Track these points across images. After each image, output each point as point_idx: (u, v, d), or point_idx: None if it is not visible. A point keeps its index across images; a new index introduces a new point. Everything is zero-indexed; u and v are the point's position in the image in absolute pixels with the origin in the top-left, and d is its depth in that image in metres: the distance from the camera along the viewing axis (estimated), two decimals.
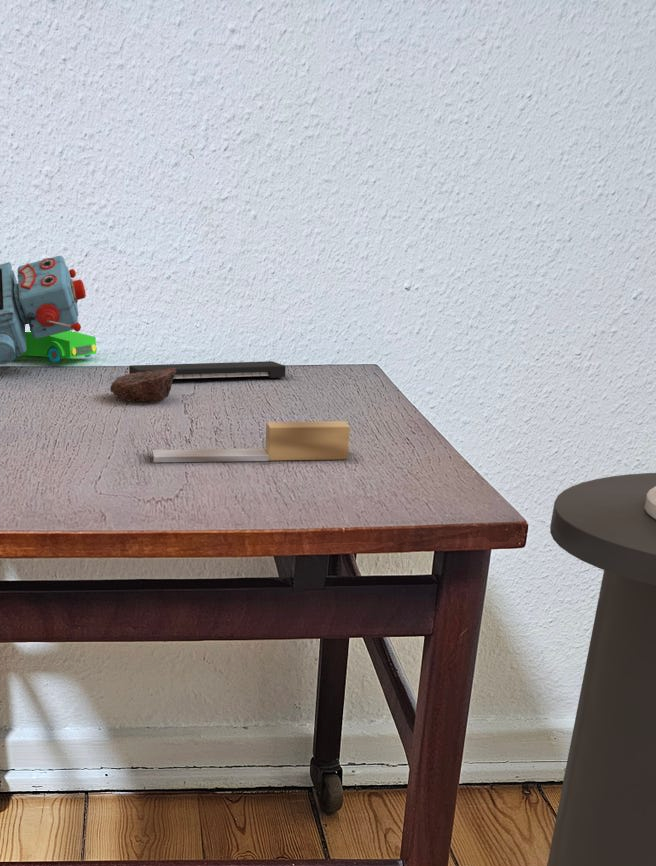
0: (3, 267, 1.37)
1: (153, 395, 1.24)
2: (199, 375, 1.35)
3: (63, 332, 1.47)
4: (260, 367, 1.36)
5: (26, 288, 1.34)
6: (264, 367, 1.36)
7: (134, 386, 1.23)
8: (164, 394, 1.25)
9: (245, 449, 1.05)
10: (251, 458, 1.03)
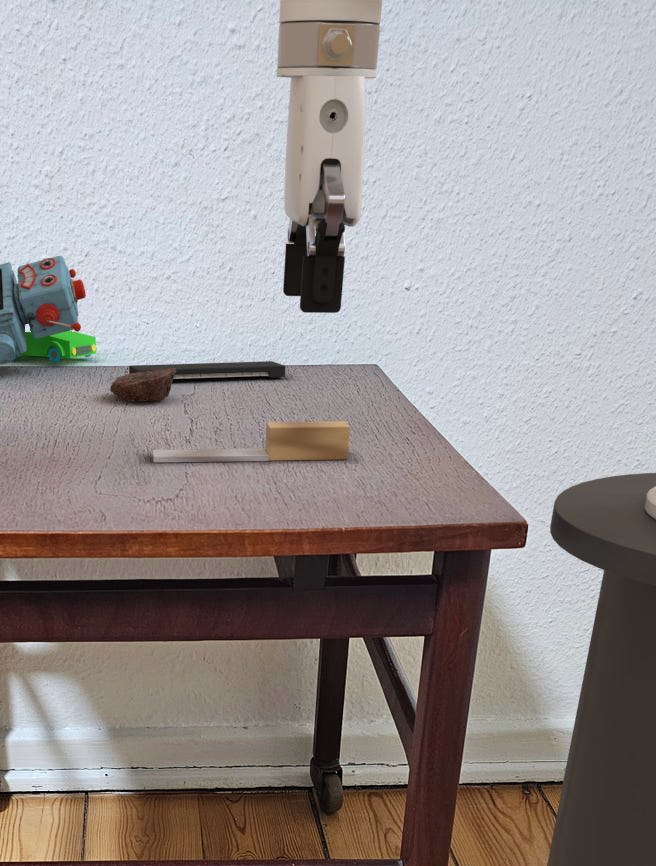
0: (3, 267, 1.37)
1: (153, 395, 1.24)
2: (199, 375, 1.36)
3: (63, 332, 1.47)
4: (260, 367, 1.36)
5: (26, 288, 1.34)
6: (264, 367, 1.36)
7: (134, 386, 1.23)
8: (164, 394, 1.25)
9: (245, 449, 1.05)
10: (251, 458, 1.03)
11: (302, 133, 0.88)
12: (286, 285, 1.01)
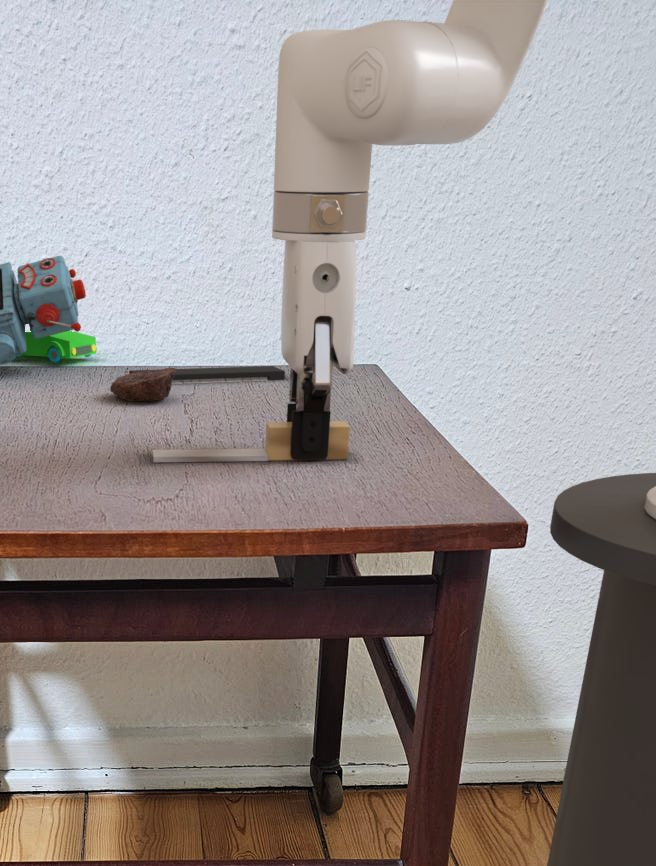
0: (3, 267, 1.37)
1: (153, 395, 1.24)
2: (198, 380, 1.36)
3: (63, 332, 1.47)
4: (259, 372, 1.36)
5: (26, 288, 1.34)
6: (263, 372, 1.37)
7: (134, 386, 1.23)
8: (164, 394, 1.25)
9: (245, 449, 1.05)
10: (251, 458, 1.03)
11: (296, 293, 0.94)
12: None
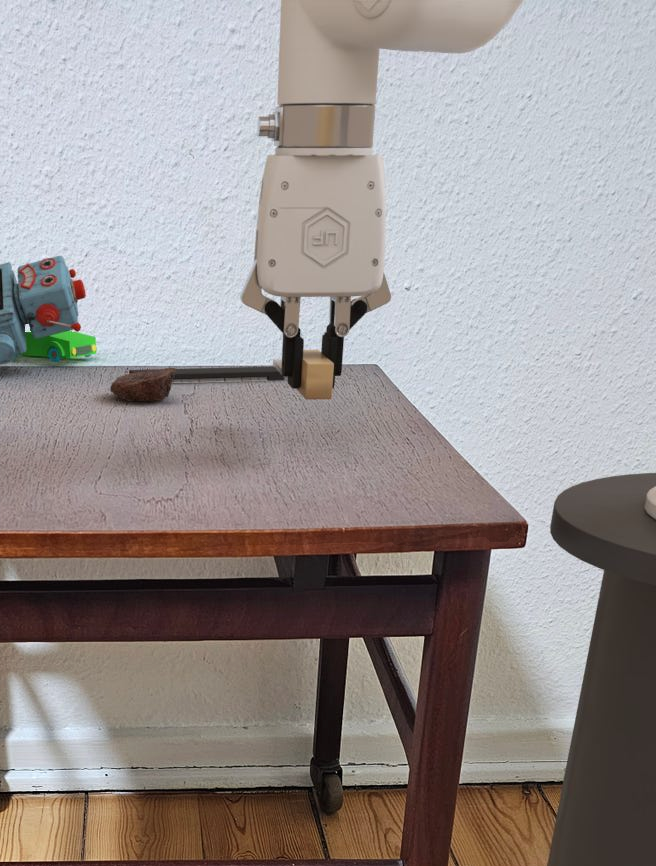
0: (3, 267, 1.37)
1: (153, 395, 1.24)
2: (197, 380, 1.36)
3: (63, 332, 1.47)
4: (259, 372, 1.36)
5: (26, 288, 1.34)
6: (263, 372, 1.36)
7: (134, 386, 1.23)
8: (164, 394, 1.25)
9: None
10: (286, 378, 1.05)
11: None
12: None
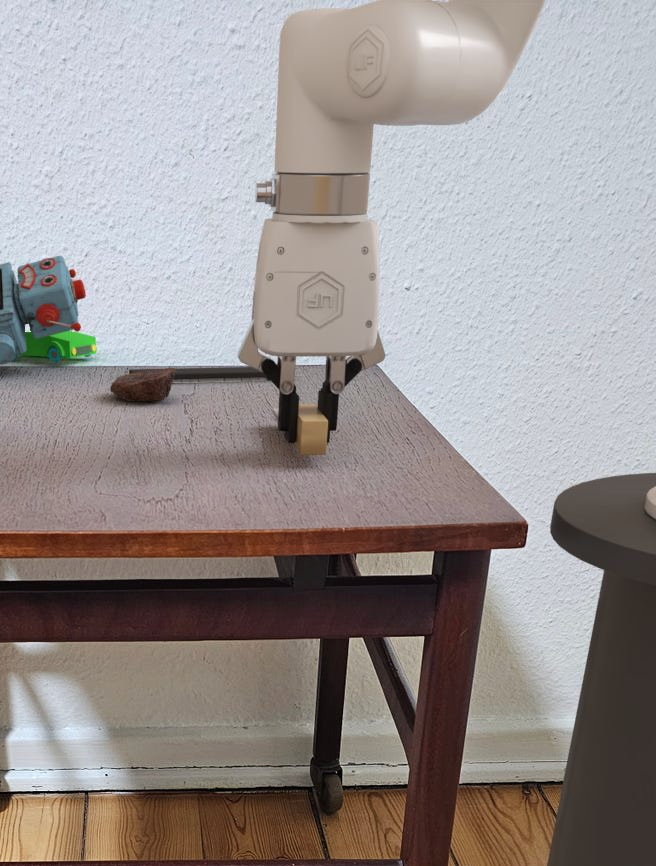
0: (3, 267, 1.37)
1: (153, 395, 1.24)
2: (197, 380, 1.36)
3: (63, 332, 1.47)
4: (258, 372, 1.36)
5: (26, 288, 1.34)
6: (262, 373, 1.36)
7: (134, 386, 1.23)
8: (164, 394, 1.25)
9: None
10: None
11: None
12: None
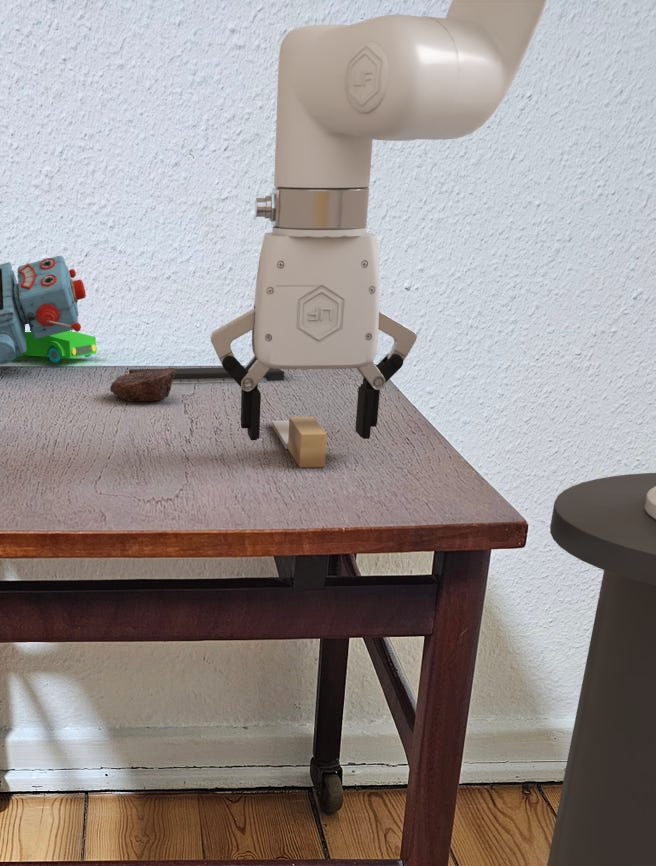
0: (3, 267, 1.37)
1: (153, 395, 1.24)
2: (196, 380, 1.36)
3: (63, 332, 1.47)
4: None
5: (26, 288, 1.34)
6: None
7: (134, 386, 1.23)
8: (164, 394, 1.25)
9: None
10: (283, 442, 1.08)
11: None
12: (356, 422, 1.04)
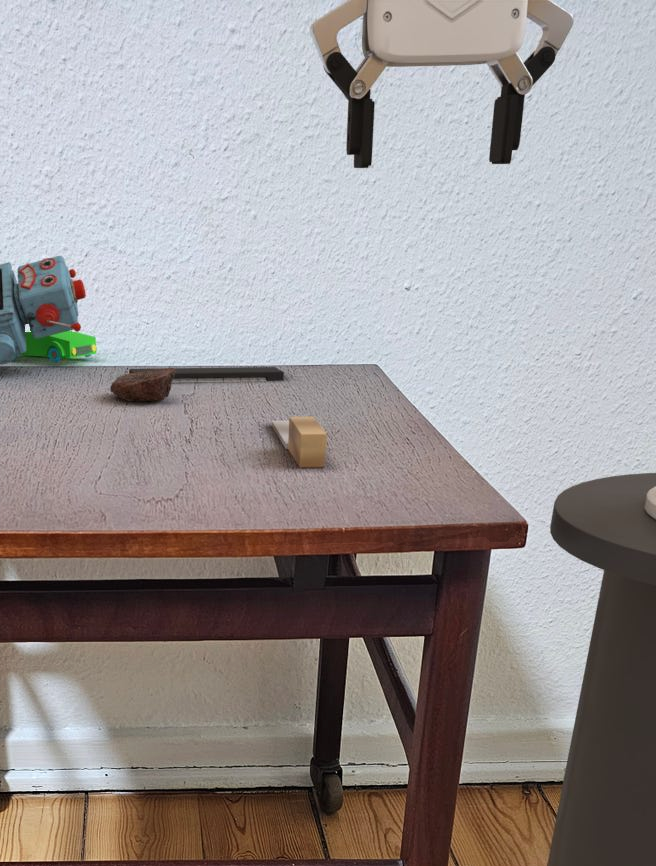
0: (3, 267, 1.37)
1: (153, 395, 1.24)
2: (196, 379, 1.36)
3: (63, 332, 1.47)
4: (257, 372, 1.36)
5: (26, 288, 1.34)
6: (262, 373, 1.36)
7: (134, 386, 1.23)
8: (164, 394, 1.25)
9: None
10: (283, 442, 1.08)
11: None
12: (490, 150, 0.83)
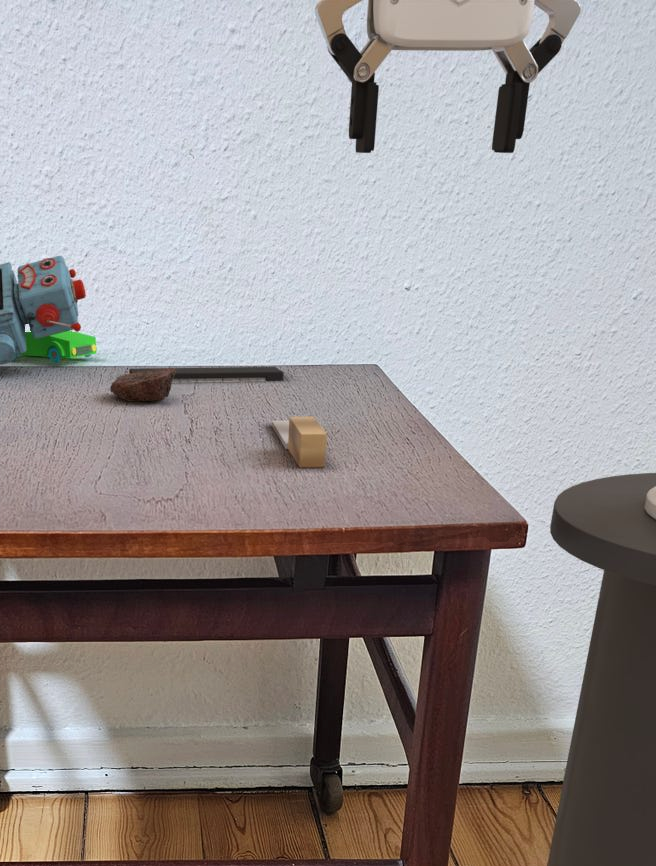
0: (3, 267, 1.37)
1: (153, 395, 1.24)
2: (195, 380, 1.36)
3: (63, 332, 1.47)
4: (257, 373, 1.36)
5: (26, 288, 1.34)
6: (261, 373, 1.36)
7: (134, 386, 1.23)
8: (164, 394, 1.25)
9: None
10: (283, 442, 1.08)
11: None
12: (493, 138, 0.82)
